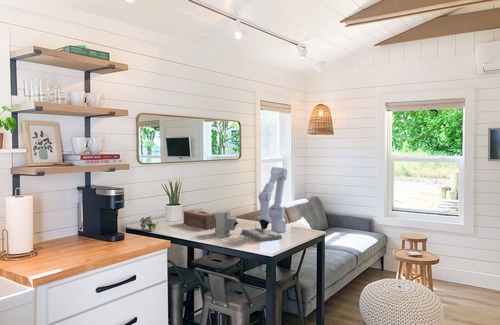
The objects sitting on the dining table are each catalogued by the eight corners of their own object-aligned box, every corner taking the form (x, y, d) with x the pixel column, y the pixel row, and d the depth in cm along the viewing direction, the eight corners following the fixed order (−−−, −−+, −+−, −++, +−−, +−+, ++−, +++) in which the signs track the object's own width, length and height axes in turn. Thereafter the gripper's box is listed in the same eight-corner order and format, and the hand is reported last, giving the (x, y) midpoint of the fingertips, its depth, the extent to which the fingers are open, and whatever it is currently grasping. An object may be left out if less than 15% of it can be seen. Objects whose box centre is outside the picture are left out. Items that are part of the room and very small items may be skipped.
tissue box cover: (222, 227, 277) (222, 213, 276) (206, 230, 266) (207, 216, 265) (198, 221, 294) (198, 208, 293) (183, 224, 283) (183, 211, 283)
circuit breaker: (235, 236, 250) (236, 213, 249) (214, 234, 253) (215, 212, 252) (238, 233, 257) (238, 211, 256) (218, 232, 260) (218, 210, 259)
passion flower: (142, 238, 263) (136, 222, 266) (157, 233, 269) (150, 218, 273) (146, 231, 254) (139, 216, 258) (161, 226, 261) (154, 211, 264)
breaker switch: (267, 234, 248) (267, 228, 248) (270, 235, 245) (270, 229, 245) (263, 234, 247) (263, 228, 247) (266, 235, 244) (266, 230, 244)
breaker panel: (261, 230, 266) (262, 226, 266) (281, 238, 245) (281, 233, 245) (241, 233, 258) (241, 228, 258) (260, 241, 237) (260, 236, 237)
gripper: (253, 209, 252) (253, 229, 253) (265, 212, 239) (264, 234, 240) (262, 208, 256) (262, 228, 256) (274, 212, 243) (274, 233, 244)
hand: (264, 231), depth 248 cm, fingers closed
